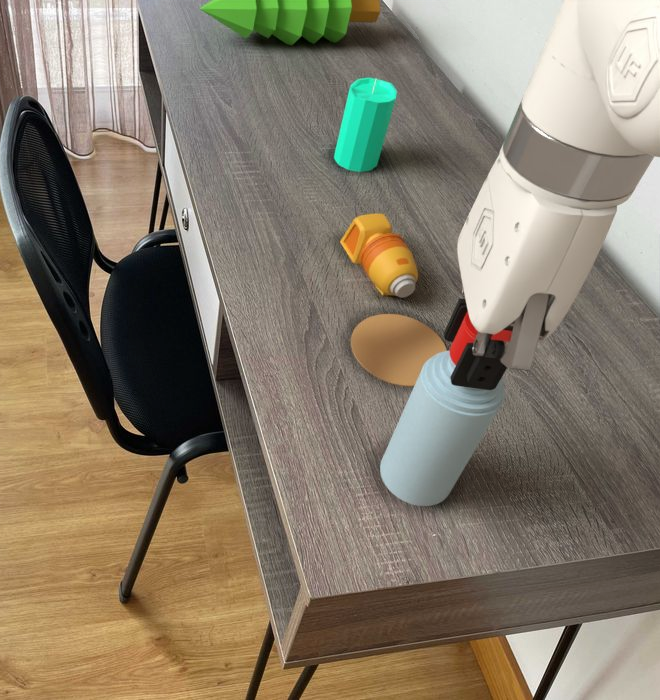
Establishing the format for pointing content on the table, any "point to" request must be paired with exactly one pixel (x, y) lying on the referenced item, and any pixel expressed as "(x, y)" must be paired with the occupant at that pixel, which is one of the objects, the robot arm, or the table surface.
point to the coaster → (394, 347)
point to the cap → (470, 338)
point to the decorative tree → (293, 17)
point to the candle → (365, 124)
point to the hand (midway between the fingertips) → (468, 360)
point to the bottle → (437, 434)
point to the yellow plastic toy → (381, 255)
